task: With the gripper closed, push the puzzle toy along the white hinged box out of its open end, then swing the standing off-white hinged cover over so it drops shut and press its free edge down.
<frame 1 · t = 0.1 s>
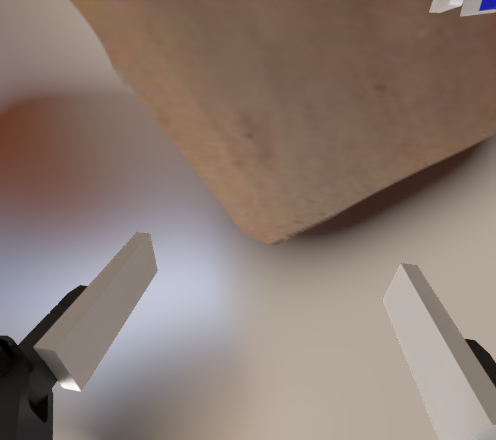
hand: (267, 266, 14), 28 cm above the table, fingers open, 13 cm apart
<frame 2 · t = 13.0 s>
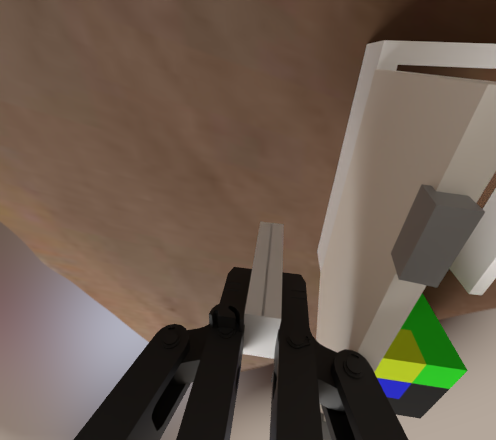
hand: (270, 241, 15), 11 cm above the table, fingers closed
white hinged box: (419, 183, 23), on the table
cover: (349, 253, 14), point 12 cm above the table, hinge at 98.4°, touching gripper
puzzle toy: (362, 304, 33), on the table
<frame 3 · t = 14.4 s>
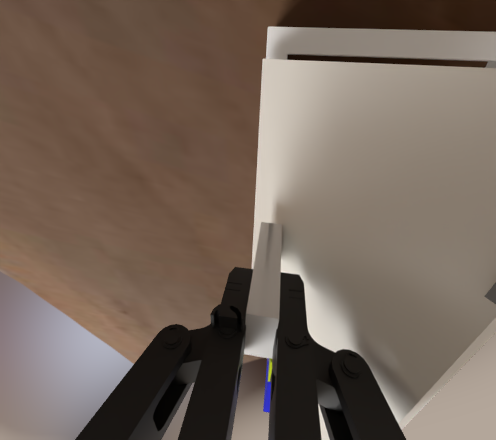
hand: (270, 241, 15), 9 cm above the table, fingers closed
white hinged box: (349, 183, 22), on the table
cover: (309, 265, 13), point 11 cm above the table, hinge at 62.8°, touching gripper
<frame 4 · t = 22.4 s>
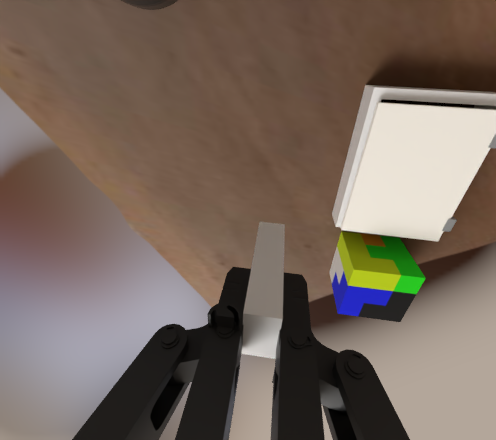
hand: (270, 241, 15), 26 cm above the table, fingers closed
white hinged box: (397, 166, 38), on the table
cover: (413, 180, 33), point 5 cm above the table, hinge at 1.0°
puzzle toy: (361, 255, 47), on the table
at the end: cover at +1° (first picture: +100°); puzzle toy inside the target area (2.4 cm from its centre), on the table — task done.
